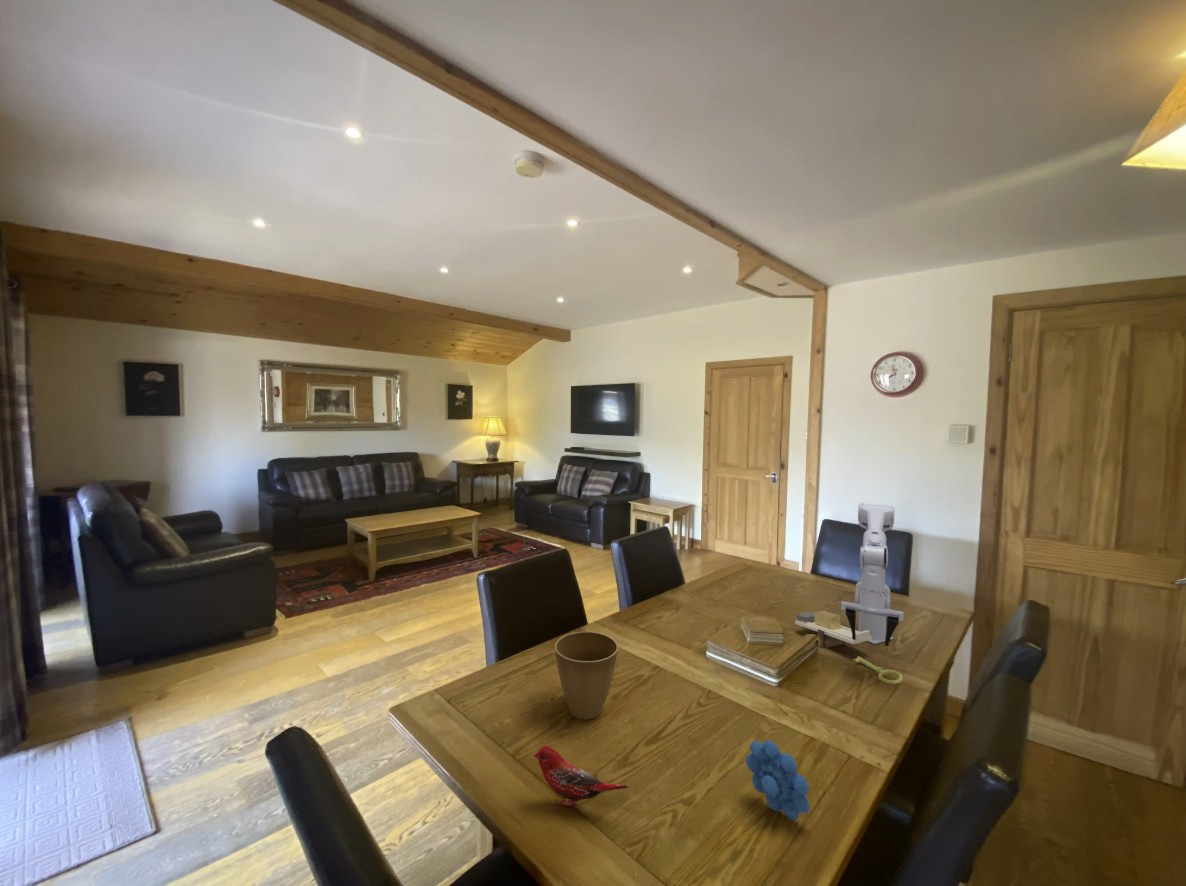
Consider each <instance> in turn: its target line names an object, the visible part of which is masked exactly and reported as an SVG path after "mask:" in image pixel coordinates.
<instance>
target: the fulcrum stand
mask: <svg viewBox="0 0 1186 886" xmlns="http://www.w3.org/2000/svg"><path fill="white" fill-rule="evenodd" d="M840 625H841V626H844V627H846V625H844V624H843V623H840ZM817 636H819V638H820V647H821V649H823V648H826V647H827V649H829V648H832V647H836V645H837V646H840V645H843V644H844V643H846V642H845V641H842V640H839V639H837V638H834V637H831V636H828V635H825V634H824V631H823V630H821V629H818V632H817ZM824 646H825V647H824ZM820 647H819V648H820ZM822 647H823V648H822Z"/></svg>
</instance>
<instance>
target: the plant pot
mask: <svg viewBox="0 0 1186 886" xmlns="http://www.w3.org/2000/svg"><path fill="white" fill-rule="evenodd" d="M554 651H555V657H556V665H557V669H558V670H557V671H558V676H559V679H560V684H561V687H562V691H563V694H564V695H563V696H564V698H565V700H566V704H567V706H568V709H569V712H570V713H571V715H572V716H573V717H575V718H576V719H580V720H591V719H595V718H596V717H598V716H599V715H600V714H601V713H602V710H603V708H604V705H605V702H606V700H607V697H608V694H609V692H610V689H611V685H612V681H613V678H614V674H615V668H616V661H617V656H618V651H619V644H618V643H617V641H616V640H615V639H614V638H613V637H610V636H609V635H607V634H604V633H601V632H597V631H576V632H571V633H568V634H565V635H563V636H561V637H560V638H559V639H558V640H556V642H555V644H554Z"/></svg>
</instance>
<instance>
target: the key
mask: <svg viewBox="0 0 1186 886" xmlns="http://www.w3.org/2000/svg"><path fill="white" fill-rule="evenodd" d="M853 661H854V662H855V663H858V664H859V663H861V664H863V665H864V666H866V667H868V668H870V669H871V670H873V671H875V672H876V674H878V675H877V677H878V680H879V681H881V682H883V683H884V684H885V683H886V684H892V685H893V684H894V685H895V684H896V683H897V684H900V683H902V682H903V681H904V677H903V675H902V673H900V672H898V671H896V670H893V669H885V670H883V668H882V667H881V666H880V667H879V666H876V665H874V664H873V663H871V662H870V661H868V660H866V659H864V658H863V657H861V656H857V657H856V658H854V659H853ZM893 674H894V675H895V676H897V677H898V676H899V677H898V678H897V679H886V678H885V677H883V676H886V675H893Z"/></svg>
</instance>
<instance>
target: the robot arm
mask: <svg viewBox="0 0 1186 886" xmlns="http://www.w3.org/2000/svg"><path fill="white" fill-rule="evenodd" d="M857 510H858V511H857V521H858V524H859V527H861V528H863V529H865V530H866V531H864V533H863V538H862V545H861V546H860V551H859V562H860V563H859V564H860V572H861V573H860V580H858V581H857V583H856V585H855V591H854V592H855V594H854V602H849V601H843V600H842V601H841V603H840V604H841V605H840V609H841V610H843V611H845V615H846V617H847V620H848V622H849V625H850V627H849V628H850V629H851V631H852V639H854V640H855V638H856V635H855V630H856V622H857V621H856V620H857V619H856V618H857V616H856V615H857V613H858V625H857V627H858V629H857V631H860V632H862V631H866V630H868V631H869V632H870V636H871V640H868V641H867V642H868V643H871V644H873V645H878V644H881V643H884V645H885V647H889V646H890V641H891V640H893V639H894V637H893V634H894V632H895V630H896V628H897V627H898V625H899V623H900V621H904V614H905V613H904V612H903V611H900V610H895V609H891V589H890V587H889V586H888V584H886V569H887V568H888V563H889V550H888V546H887V535H886V534H885V532H886V531H891V530H893V528H894V524H895V513H896V511H895V510H896V508H895V507H894V505H884V504H883V505H882V504H874V503H873V504H871V503H863V502H860V503H859V504H858V508H857ZM884 566H885V567H884Z"/></svg>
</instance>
